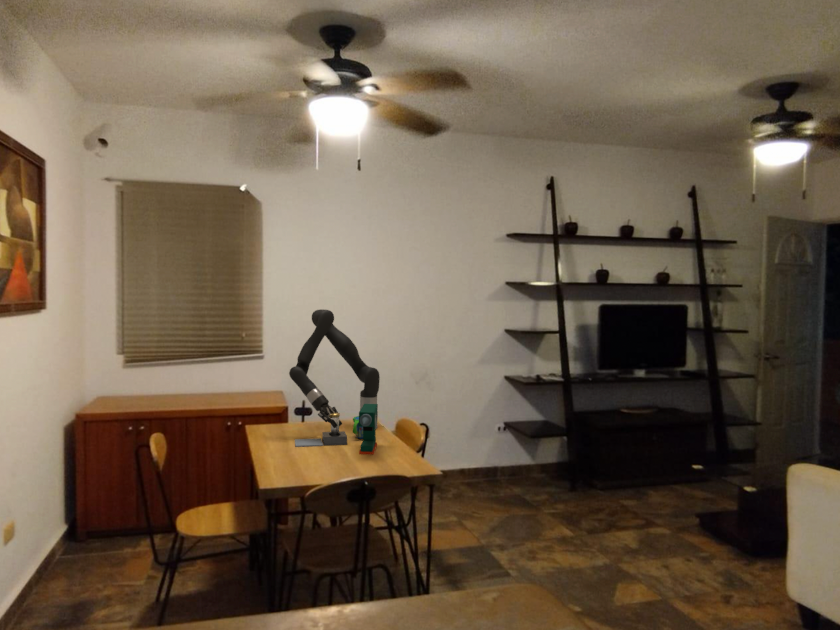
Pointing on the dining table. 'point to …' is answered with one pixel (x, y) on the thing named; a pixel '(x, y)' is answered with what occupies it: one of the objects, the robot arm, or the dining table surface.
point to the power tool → (368, 428)
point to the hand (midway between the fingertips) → (338, 425)
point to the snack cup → (357, 428)
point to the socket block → (334, 438)
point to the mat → (308, 442)
